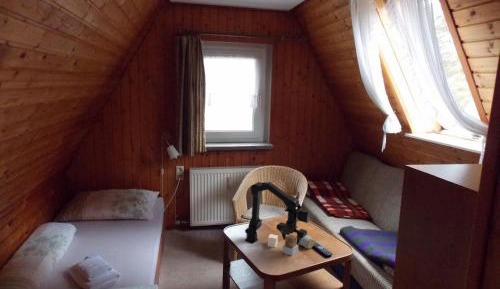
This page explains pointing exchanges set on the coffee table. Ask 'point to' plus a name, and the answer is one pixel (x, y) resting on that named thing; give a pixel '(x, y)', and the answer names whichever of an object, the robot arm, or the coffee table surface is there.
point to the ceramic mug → (307, 242)
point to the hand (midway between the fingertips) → (290, 242)
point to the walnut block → (290, 241)
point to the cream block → (272, 240)
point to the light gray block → (290, 250)
